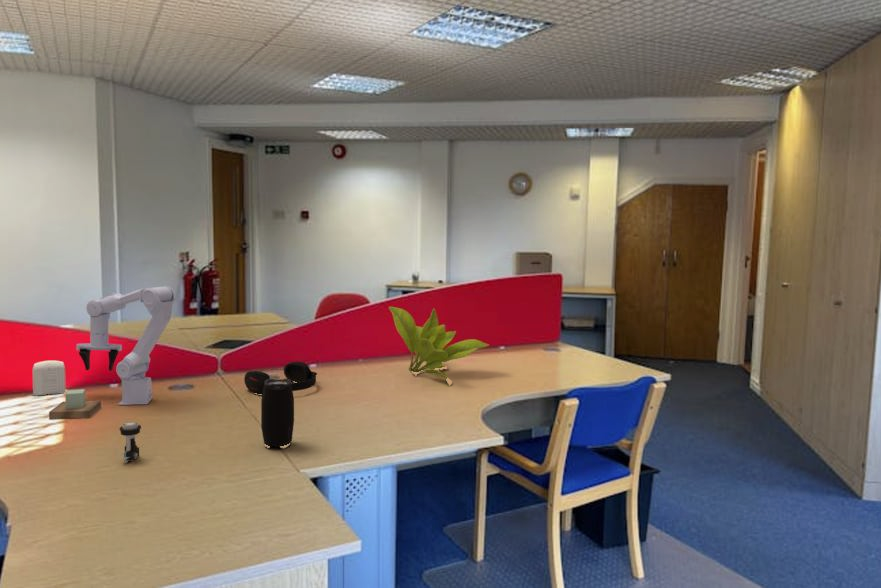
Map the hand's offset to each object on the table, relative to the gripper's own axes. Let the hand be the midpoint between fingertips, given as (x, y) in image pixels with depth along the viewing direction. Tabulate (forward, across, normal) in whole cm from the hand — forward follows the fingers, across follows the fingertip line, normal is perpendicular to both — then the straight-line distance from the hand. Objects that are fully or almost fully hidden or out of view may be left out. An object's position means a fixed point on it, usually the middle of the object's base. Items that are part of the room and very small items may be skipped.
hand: (99, 369), depth 234 cm
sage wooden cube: (+8, +2, +18) cm, 20 cm away
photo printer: (+11, +19, -7) cm, 23 cm away
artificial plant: (+7, -127, -22) cm, 129 cm away
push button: (+9, -26, +64) cm, 70 cm away
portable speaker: (+8, -65, +58) cm, 87 cm away
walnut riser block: (+11, +2, +18) cm, 22 cm away
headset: (+9, -64, -9) cm, 65 cm away
